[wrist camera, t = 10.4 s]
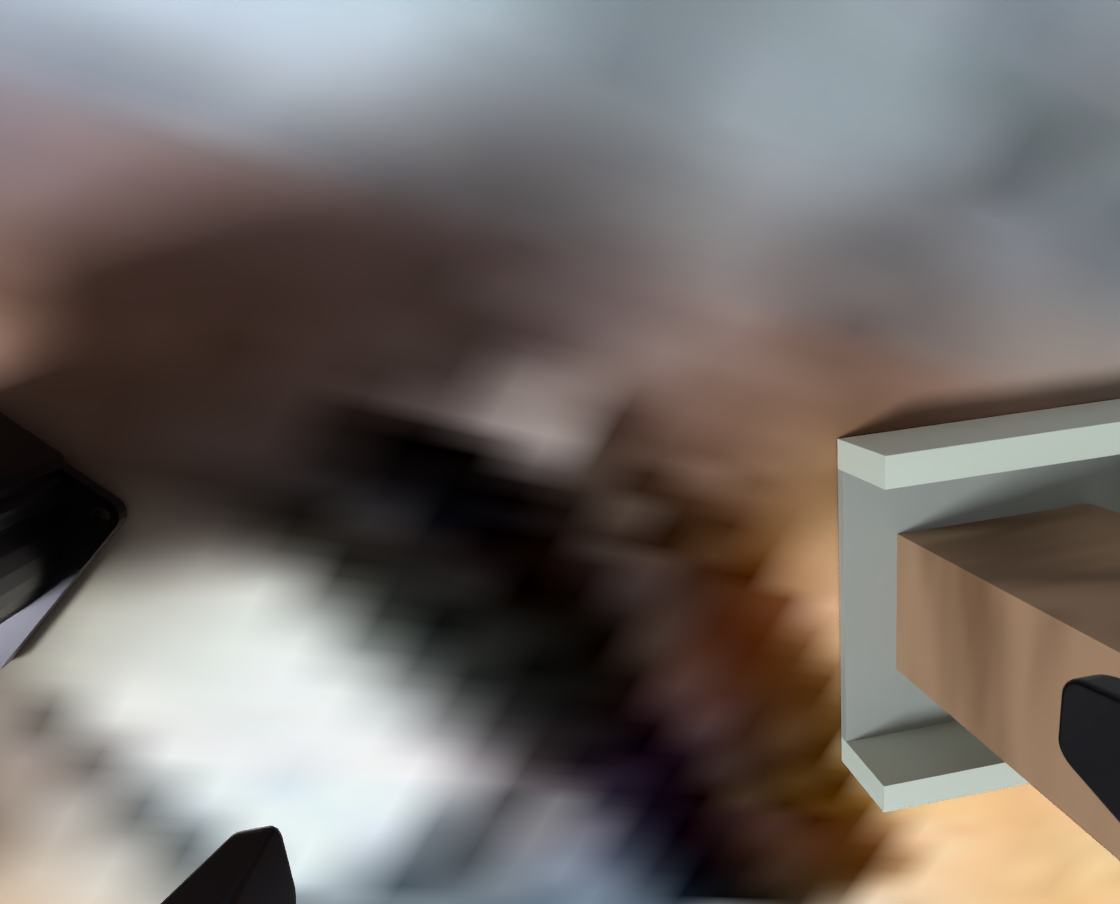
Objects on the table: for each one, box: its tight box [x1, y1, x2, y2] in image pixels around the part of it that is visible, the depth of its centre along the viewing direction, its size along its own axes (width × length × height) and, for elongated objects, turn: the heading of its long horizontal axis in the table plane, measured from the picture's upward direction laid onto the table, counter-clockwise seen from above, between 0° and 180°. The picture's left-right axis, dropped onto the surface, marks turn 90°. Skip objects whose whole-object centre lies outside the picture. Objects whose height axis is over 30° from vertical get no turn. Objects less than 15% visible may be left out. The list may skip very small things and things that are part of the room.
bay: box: [837, 399, 1120, 813], centre depth 21 cm, size 12×12×2 cm
